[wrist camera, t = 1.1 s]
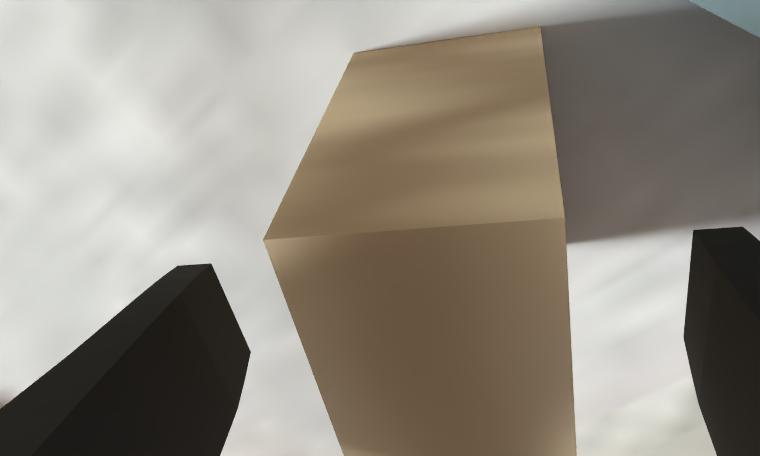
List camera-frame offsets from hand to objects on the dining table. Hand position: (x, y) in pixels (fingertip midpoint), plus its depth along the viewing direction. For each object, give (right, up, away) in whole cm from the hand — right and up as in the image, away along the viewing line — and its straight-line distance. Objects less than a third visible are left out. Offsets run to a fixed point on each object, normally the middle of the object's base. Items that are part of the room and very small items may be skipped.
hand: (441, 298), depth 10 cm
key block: (+1, +3, +4) cm, 5 cm away
